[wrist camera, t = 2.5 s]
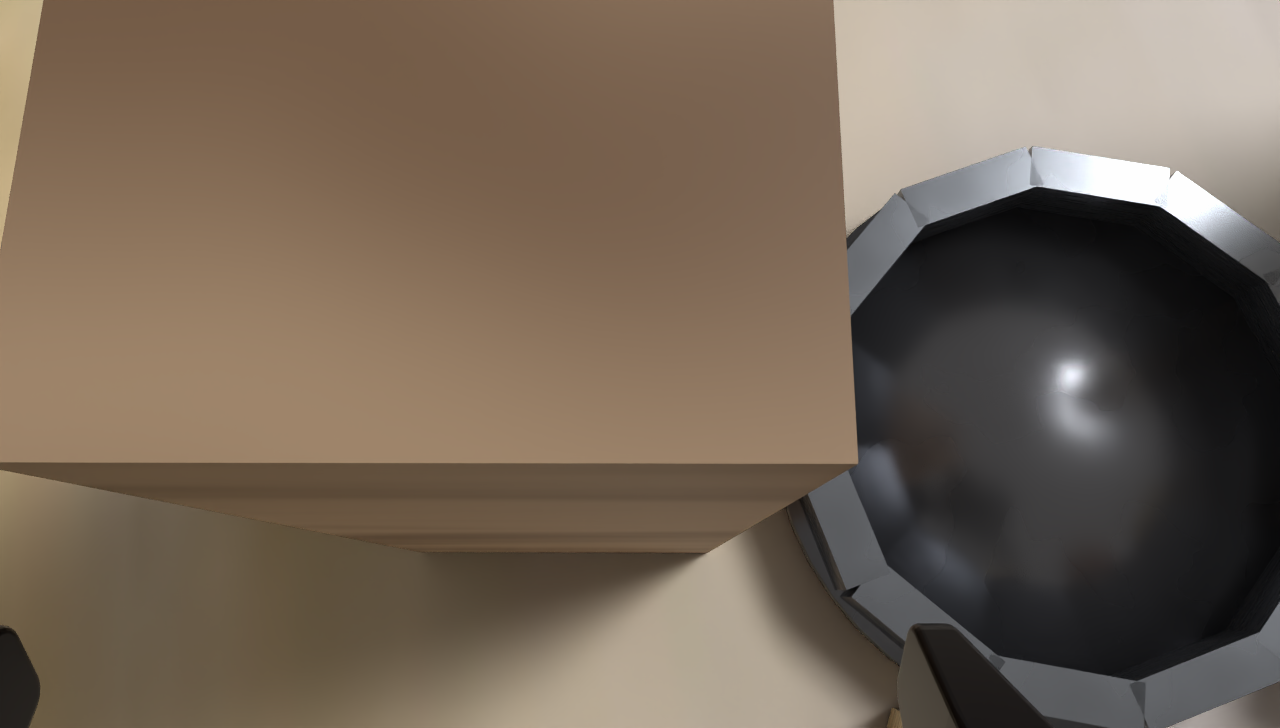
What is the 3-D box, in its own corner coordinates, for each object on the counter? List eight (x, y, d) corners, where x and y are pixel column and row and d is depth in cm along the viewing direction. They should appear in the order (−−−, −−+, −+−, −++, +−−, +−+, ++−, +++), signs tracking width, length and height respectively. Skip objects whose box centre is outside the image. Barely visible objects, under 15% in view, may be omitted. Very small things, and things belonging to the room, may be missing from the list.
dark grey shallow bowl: (1136, 865, 20) (1178, 888, 18) (656, 464, 22) (658, 454, 20) (1440, 397, 22) (1500, 382, 21) (984, 74, 24) (1007, 39, 23)
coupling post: (707, 552, 21) (858, 464, 7) (422, 552, 21) (-37, 461, 7) (703, 281, 23) (819, -262, 8) (437, 280, 23) (88, -265, 8)
